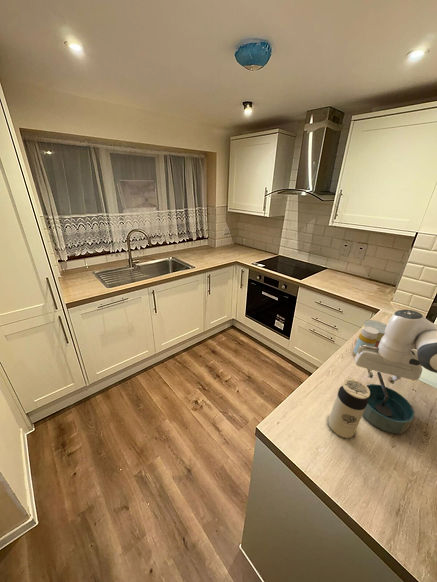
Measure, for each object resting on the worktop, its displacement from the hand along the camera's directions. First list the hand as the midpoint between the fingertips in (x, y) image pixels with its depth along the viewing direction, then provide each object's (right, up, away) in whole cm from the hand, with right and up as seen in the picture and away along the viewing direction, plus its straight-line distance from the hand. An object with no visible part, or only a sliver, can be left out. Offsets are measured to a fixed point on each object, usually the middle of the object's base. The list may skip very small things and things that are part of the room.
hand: (379, 379), depth 90 cm
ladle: (-2, -7, -2) cm, 8 cm away
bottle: (+6, +3, +21) cm, 22 cm away
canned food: (+14, +6, +28) cm, 32 cm away
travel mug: (-21, -11, -12) cm, 27 cm away
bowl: (-4, -10, -7) cm, 12 cm away
